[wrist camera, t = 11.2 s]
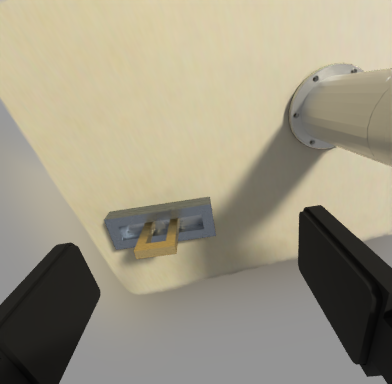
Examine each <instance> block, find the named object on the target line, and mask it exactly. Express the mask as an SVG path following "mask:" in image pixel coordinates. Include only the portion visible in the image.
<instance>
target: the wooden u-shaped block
mask: <svg viewBox="0 0 392 384" xmlns="http://www.w3.org/2000/svg"><path fill="white" fill-rule="evenodd" d="M179 227H180V220H179V218H176V219H170V222H169V227H168V232H167V237H166V241H161V242H154V243H151V240H152V236H153V233H154V230H155V222H148V223H145V224H144V226H143V229H142V231H141V234H140V236H139V239H138V242H137V244H136V247H135V249H134V254H135V257H136V259H142V258H149V257H156V256H164V255H171V254H176V253H177V244H178V236H179Z"/></svg>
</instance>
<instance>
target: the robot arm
mask: <svg viewBox="0 0 392 384" xmlns="http://www.w3.org/2000/svg"><path fill="white" fill-rule="evenodd" d="M313 77H314V81H313ZM294 114H295V116H294V117H293V115H294ZM289 123H290V127H291V130H292V132H293V134H294V135H295V137H296V138H297V139H298V140H299V141H300V142H301V143H303V144H305V145H307V146H309V147H312V148H316V149H327V148H333V147H335V146H337V147H340V148H343V149H345V150H348V151H351V152H353V153H356V154H359V155H361V156H364V157H367V158H369V159H372V160H375V161H378V162H380V163H383V164H386V165H389V166H392V68H390V69H382V70H374V71H366V72H364V71H363V70H362V69H361V68H359V67H357V66H355V65H352V64H347V63H338V64H332V65H328V66H325V67H323V68H320V69H318V70H317V71H315V72H313V73H312V74H311V75H310V76H308V77H307V78H306V79H305V80H304V81H303V82H302V84H301V85H300V86H299V87H298V89H297V91H296V92H295V94H294V96H293V99H292V101H291V105H290V109H289ZM310 141H311V142H310ZM298 266H299V270H300V272H301V274H302V276H303V277H304V279H305V281H306V282H307V284H308V286H309V288H310V289H311V291H312V293H313V295H314V296H315V298H316V300H317V302H318V303H319V305H320V307H321V308H322V310H323V312H324V314H325V315H326V317H327V319H328V321H329V322H330V324H331V326H332V327H333V329H334V331H335V332H336V334H337V336H338V338H339V339H340V341H341V343H342V345H343V347H344V348H345V350H346V352H347V353H348V355H349V357H350V358H351V360H352V361H353V362H354V363H355V364H360V366H361V367H362V369H363V371H364V372H365V374H366V375H367V377H368V376H380V375H382V376H383V377H384V379H385V381H386V382H387V384H392V268H391V267H390V266H389V265H387V264H386V263H385V262H384V261H383V260H382V259H381V258H380V257H379V256H378V255H376V254H375V253H374V252H373V251H372V250H371V249H370V248H369V247H368V246H367V245H365V244H364V243H363V242H362V241H361V240H360V239H359V238H357V237H356V236H355V235H354V234H353V233H352V232H350V231H349V230H348V229H347V228H346V227H345V226H344V225H343V224H342V223H340V222H339V221H338V220H337V219H336V218H335V217H334V216H333V215H332V214H330V213H329V212H328V211H327V210H326V209H325V208H324V207H323V206H321V205H318V206H311V207H305V208H304V210H303V212H300V214H299V249H298ZM99 298H100V289H99V287H98V285H97V283H96V281H95V279H94V277H93V275H92V273H91V271H90V269H89V267H88V265H87V263H86V261H85V259H84V257H83V255H82V253H81V251H80V249H79V248H78V246H75V245H74V244H73V243H65V244H59V245H56V246H55V247H54V248H53V249H52V250H51V251H50V252H49V253H48V254H47V255H46V256H45V257H44V259H43V260H42V261H41V262H40V263H39V264H38V265H37V266H36V267H35V268H34V269H33V270H32V271H31V272H30V274H29V275H28V276H27V277H26V278H25V279H24V280H23V281H22V282H21V283H20V284H19V285H18V286H17V288H16V289H15V290H14V291H13V292H12V293H11V294H10V295H9V296H8V297H7V298H6V299H5V300H4V302H3V303H2V304H1V305H0V384H59V382H60V380H61V378H62V376H63V374H64V372H65V370H66V367H67V365H68V363H69V361H70V359H71V357H72V355H73V353H74V351H75V349H76V346H77V344H78V342H79V340H80V338H81V336H82V334H83V332H84V330H85V327H86V325H87V323H88V321H89V319H90V317H91V315H92V313H93V310H94V308H95V307H96V304H97V302H98V300H99Z"/></svg>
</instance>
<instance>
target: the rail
mask: <svg viewBox="0 0 392 384" xmlns="http://www.w3.org/2000/svg"><path fill="white" fill-rule="evenodd" d="M176 218H179V220H180V227H179V236H178V241H182V240H189V239H197V238H204V237H211V236H216V234H215V227H214V220H213V214H212V208H211V201H210V197H205V198H199V199H192V200H185V201H179V202H172V203H165V204H159V205H152V206H146V207H139V208H132V209H126V210H119V211H113V212H109V214H108V215H107V217H106V218H105V219H104V221H105V224H106V226H107V229H108V231H109V234H110V236H111V239H112V241H113V244H114V246H115V249H116V250H117V249H125V248H132V247H136V244H137V242H138V239H139V236H140V234H141V231H142V229H143V226H144V224H145V223H148V222H155V230H154V233H153V236H152V240H151V243H154V242H161V241H166V237H167V232H168V227H169V222H170V219H176Z"/></svg>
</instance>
